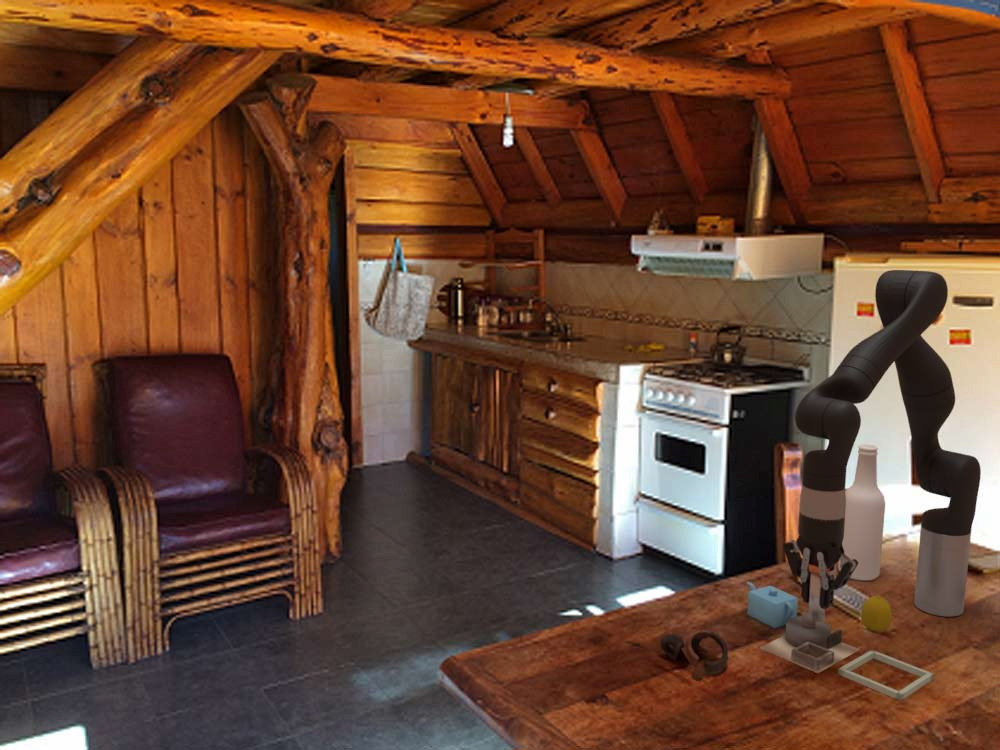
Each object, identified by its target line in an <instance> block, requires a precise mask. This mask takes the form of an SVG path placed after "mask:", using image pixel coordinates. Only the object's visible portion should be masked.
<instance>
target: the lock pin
mask: <svg viewBox="0 0 1000 750" xmlns="http://www.w3.org/2000/svg"><path fill="white" fill-rule="evenodd" d="M829 570H830V568H829V569H827V571H829ZM808 571H809V572H810V583H809V601H808V603H807V604H808V605H807V606H808V607H807V613H808V619H810V620H812V621H816V622H821V621H824V622H825V614H826V613H825V612H826V609H822V608H820V602H821V589H822V588H823V587H822V578H821V576H820V574H819V566H817V565H814V564H809V565H808Z"/></svg>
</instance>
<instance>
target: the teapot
mask: <svg viewBox="0 0 1000 750" xmlns="http://www.w3.org/2000/svg"><path fill="white" fill-rule="evenodd" d="M746 584H747V585H748V586H749V588H750V590H749V591H748V593H747V595H748V596H747V597H748V599H747V615H748V616H750V617H752V618H753V619H756V620H757V621H758V622H759V621H760V622H762V623H764V624H765V625H768V626H769V627H771V628H773V629H776V628H780V627H784V626H786V621H787V620H788V619H790V618H793V617H798V602H799V601H798V600H799V598H798V597H796V596H794V595H792V594H790V593H787V592H785V591H783V590H781V589H779V588H777V587H775V586H772V585H768V586H767V585H766V586H764V587H760V588H757V589H756V586H755V584H754V583H752V582H751V581H746Z"/></svg>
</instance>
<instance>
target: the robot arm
mask: <svg viewBox="0 0 1000 750" xmlns="http://www.w3.org/2000/svg"><path fill="white" fill-rule="evenodd" d="M948 288H949V287H948V284H947V281H946V279H945V278H944V276H943V275H942V274H941V273H938V272H935V271H927V270H909V269H891V270H887V271H885V272H883V273H882V274H881V275H880V276H879V277H878V279H877V281H876V286H875V295H874V296H875V303H876V308H877V309H876V310H877V312H878V317H879V319H880V321H881V324H882V326H883V328H881V329H880V330H878V331H876V332H875V333H873V334H871V335H870V336H868V337H866V338H864V339H863V340H861V341H860V342H858V343H857V344H856V345H855V346H853V347H852V348H851V349H850V350H849V351H848V352H847V354H845V356H844V358H842V361H841V362H840V363H839V365H838V366H837V367H836V369H835V371H834V372H833V373H832V374H831V375H829V377H827V378H826V379H824V380H823V381H822V382H820V383H819V384H817V386H815V387H814V388H813V389H811V390H810V391H808V393H807V394H806V395H804V397H803V398H802V399H801V401H799V404H798V405H797V407H796V410H795V413H794V422H795V425H796V427H797V429H798V430H799V432H801V433H802V434H804V435H806V436H809V437H813V438H815V437H816V438H819V439H824V440H828V445H827V447H826V449H815V450H810V451H808V452H807V453H806V454H805V455H804V457H803V464H802V465H803V467H802V480H801V481H802V482H801V483H802V484H801V490H800V493H799V494H800V495H799V503H798V504H799V509H798V525H797V526H798V528H797V533H798V537H797V539H796V540H790V541H787V542H784V543H783V546H782V548H783V550H784V555H785V557H786V559H787V562H788V565H789V569H790V572H791V574H792V576H794V577H798V578H799V580H800V581H801V591H800V592H801V595H800V596H801V599H802V600H803V603H805V604H808V601H809V583H810V572H809V571H808V565H809V564H814V565H817V566H819V574H820V576H821V578H822V587H823V588H822V589H821V602H820V608H822V609H825V610H827V609H828V608H830V607H831V606H833V604H834V596H835V590H836V591H837V590H839V589H841V588H843V587H845V586H846V584H847V583H848V581H849V580H850V577H851V575H852V573H853V572H854V570H855V569H856V567H857V565H858V561H857V560H856V559H853V560H851V559H850V558H849V557H847V556H846V555H845V554H844V549H843V546H842V542H843V538H844V525H845V509H846V495H845V492H846V481H847V480H846V479H847V465H848V462H849V460H850V456H851V454H852V451H853V447H854V446H855V445H854V444H855V443H856V442H855V441H856V440H857V437H858V435H859V431H860V429H861V423H862V417H861V414H860V411H859V409H858V407H857V406H856V405H855V404H857V405H858V404H861V403H864V402H865V401H866V400H867V399H868V398H869V397H870V395H871V394H872V393H873V392H874V390H875V388H876V387H877V385H878V384H879V382H880V381H881V379H883V377H884V375H885V374H886V372H887V371H888V370H889V368H890V367H891V366H892V364H894V365H895V369H896V375H897V377H898V383H899V390H900V393H901V397H902V402H903V406H904V408H905V413H906V417H907V420H908V421H907V422H908V426H909V431H910V436H911V444H912V445H911V446H912V451H913V452H912V453H913V461H914V462H913V463H914V471H915V476H916V477H915V478H916V481H917V483H918V485H919V487H920V488H921V489H922V490H923V491H925V492H927V493H930V494H933V495H937V496H941V497H946V498H949V503H948V505H947V507H939V508H938V507H937V508H931V509H927V510H925V511H924V512H923V513H922V515H921V521H920V522H921V523H920V533H919V545H918V555H917V556H918V559H917V568H916V569H917V570H916V580H915V590H914V591H915V592H914V601H913V603H914V606H915V607H916V608H917V609H919V611H920V610H921V611H923V612H924V613H926V614H927V613H928V614H929V615H934V616H938V617H939V616H940V617H949V618H950V617H958V616H961V615H963V613H964V609H965V598H966V589H967V588H966V587H967V580H968V568H969V567H968V566H969V560H970V559H969V557H970V546H971V536H972V527H973V522H974V519H975V516H976V508H977V501H978V496H979V495H978V494H979V490H980V484H981V483H980V482H981V475H982V474H981V471H982V470H981V465H980V462H979V460H978V459H977V458H976V457H975V456H972V455H969V454H964V453H961V452H954V451H951V450H950V451H949V450H945V449H943V448H942V447H941V445H940V441H939V436H938V435H939V432H940V430H941V428H942V427H943V426H944V424H945V422H946V421H947V419H948V418H949V417H950V415H951V413H952V411H953V409H954V407H955V403H956V393H955V387H954V382H953V378H952V374H951V371H950V369H949V367H948V364H946V362H945V361H944V360H943V358H942V357H941V356H940V355H939V353H938V352H937V351H936V350H935V349H934V348H933V347H932V346H931V345H930V344H929V343H928V342H927V341H926V340H925V338H924V337H923V336H922V334H924V333H925V331H926V330H927V329H928V328H929V327H931V325H932V324H934V322H935V321H936V320H937V319H938V318H939V317H940V315H941V314H942V312H943V310H944V308H945V306H946V304H947V301H948V292H949V290H948ZM839 560H840V562H841V563H840V568H841V570H840V571H839V572H838V574H837V563H839ZM829 568H830V570H829V571H827V569H829ZM836 574H837V575H836Z"/></svg>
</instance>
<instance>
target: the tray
mask: <svg viewBox="0 0 1000 750" xmlns="http://www.w3.org/2000/svg"><path fill="white" fill-rule="evenodd" d="M873 659H874V660H876V661H878V662H882V663H885V664H887V665H889V666H892V667H895V668H897V669H900V670H902V671H905V672H907V673H910V674H913V675H915V676H917V677H919V678H918V679H916V680H914V681H913V682H911V683H910V684H908V685H906V686H905V687H904V688H902V689H900V690H896V689H894V688H892V687H889V686H887V685H884V684H882V683H879V682H877V681H875V680H873V679H870V678H867V677H866V676H863V675H860V674H858V673H856V672H853V671H854V670H856V669H858V667H860V666H863V665H864V664H866V663H868V662H869V661H871V660H873ZM837 671H838V673H837V675H838V676H841V677H843V678H846V679H848V680H851V681H853V682H855V683H858V684H860V685H863V686H865V687H866V688H869V689H872V690H873V691H876V692H879V693H880V694H883V695H886V696H888V697H891V698H893V699H896V700H897V701H900V702H902V701H903V700H905V699H906V698H908V697H909V696H910V695H912V694H914V693H915V692H917V691H918V690H920V689H921V688H923V687H924V686H926V685H927V684H929V683H930V682H931V681H933V680H934V674H935V673H933V672H930V671H927V670H924V668H923V669H922V668H919V667H918V666H917V667H916V666H915V665H912V664H910V663H907V662H905V661H901V660H899V659H897V658H895V657H891V656H889V655H886V654H884V653H881V652H878V651H876V650H873V649H871V650H869V651H867V652H865V653H864V654H862V655H860V656H858V657H857V658H854V659H853V660H852V661H850V662H848V663H846V664H844V665H843V666H841V667H839V668H838V670H837Z"/></svg>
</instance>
